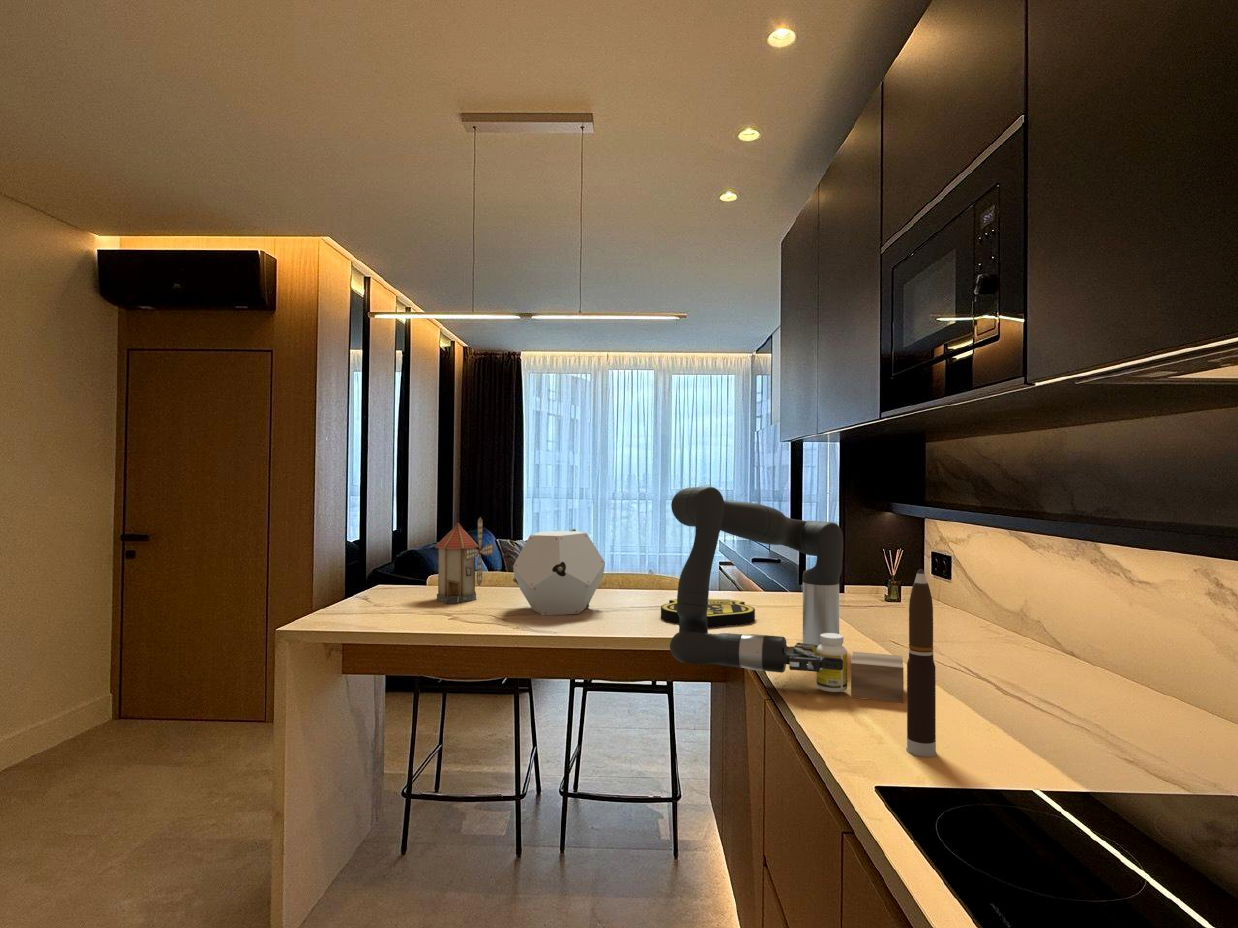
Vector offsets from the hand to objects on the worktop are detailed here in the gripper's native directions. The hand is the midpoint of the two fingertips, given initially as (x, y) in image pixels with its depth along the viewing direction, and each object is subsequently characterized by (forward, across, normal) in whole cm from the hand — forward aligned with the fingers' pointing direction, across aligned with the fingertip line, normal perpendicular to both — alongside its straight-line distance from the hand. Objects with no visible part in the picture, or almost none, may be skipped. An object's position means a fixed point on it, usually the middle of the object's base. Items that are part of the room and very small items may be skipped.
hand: (843, 660), depth 148 cm
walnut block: (+7, +3, +7) cm, 10 cm away
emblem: (-44, +67, +8) cm, 81 cm away
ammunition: (+14, -28, +7) cm, 32 cm away
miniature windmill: (-134, +66, +8) cm, 150 cm away
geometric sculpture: (-93, +61, +8) cm, 112 cm away
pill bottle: (-2, 0, +6) cm, 7 cm away
